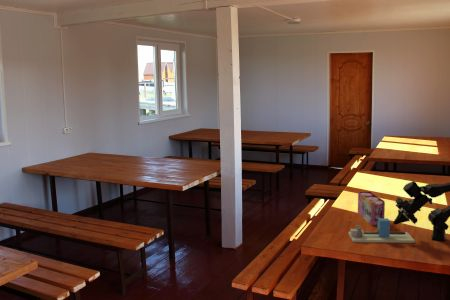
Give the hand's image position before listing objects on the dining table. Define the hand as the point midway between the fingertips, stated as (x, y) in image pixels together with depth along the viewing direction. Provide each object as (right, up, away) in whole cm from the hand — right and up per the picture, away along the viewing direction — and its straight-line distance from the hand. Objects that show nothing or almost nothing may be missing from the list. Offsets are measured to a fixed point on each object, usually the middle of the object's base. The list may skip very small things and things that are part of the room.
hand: (393, 223), depth 239 cm
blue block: (-5, -6, +1) cm, 8 cm away
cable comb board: (-6, -8, +2) cm, 10 cm away
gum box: (-2, -3, +33) cm, 33 cm away
